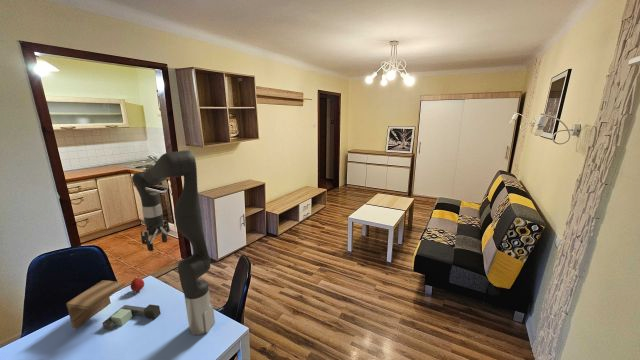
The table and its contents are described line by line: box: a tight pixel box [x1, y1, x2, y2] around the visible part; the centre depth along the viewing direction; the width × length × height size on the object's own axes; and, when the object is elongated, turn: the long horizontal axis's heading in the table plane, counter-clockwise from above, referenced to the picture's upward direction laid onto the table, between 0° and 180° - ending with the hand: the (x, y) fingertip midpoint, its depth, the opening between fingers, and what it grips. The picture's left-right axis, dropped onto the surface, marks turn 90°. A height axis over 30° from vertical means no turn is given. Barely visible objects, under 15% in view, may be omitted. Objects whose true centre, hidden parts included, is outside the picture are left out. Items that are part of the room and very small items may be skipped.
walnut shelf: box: [65, 279, 126, 330], centre depth 117 cm, size 12×16×12 cm
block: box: [111, 308, 133, 327], centre depth 116 cm, size 5×5×4 cm
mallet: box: [101, 304, 161, 331], centre depth 116 cm, size 18×12×4 cm
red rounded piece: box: [130, 276, 145, 292], centre depth 135 cm, size 6×6×8 cm
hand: (158, 246), depth 124 cm, fingers open, 8 cm apart
